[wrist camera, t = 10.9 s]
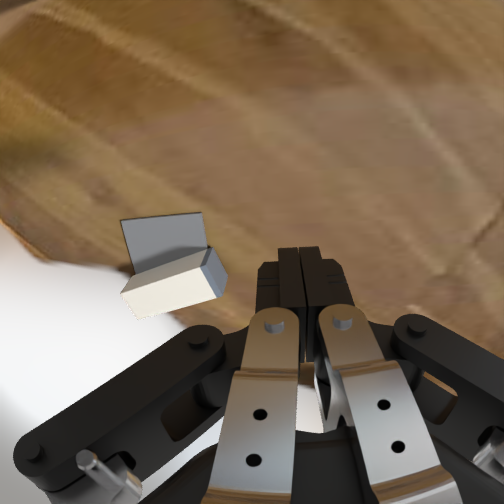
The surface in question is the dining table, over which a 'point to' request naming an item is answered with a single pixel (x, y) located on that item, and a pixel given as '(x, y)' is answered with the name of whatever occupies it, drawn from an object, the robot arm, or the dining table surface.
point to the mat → (163, 239)
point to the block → (176, 284)
